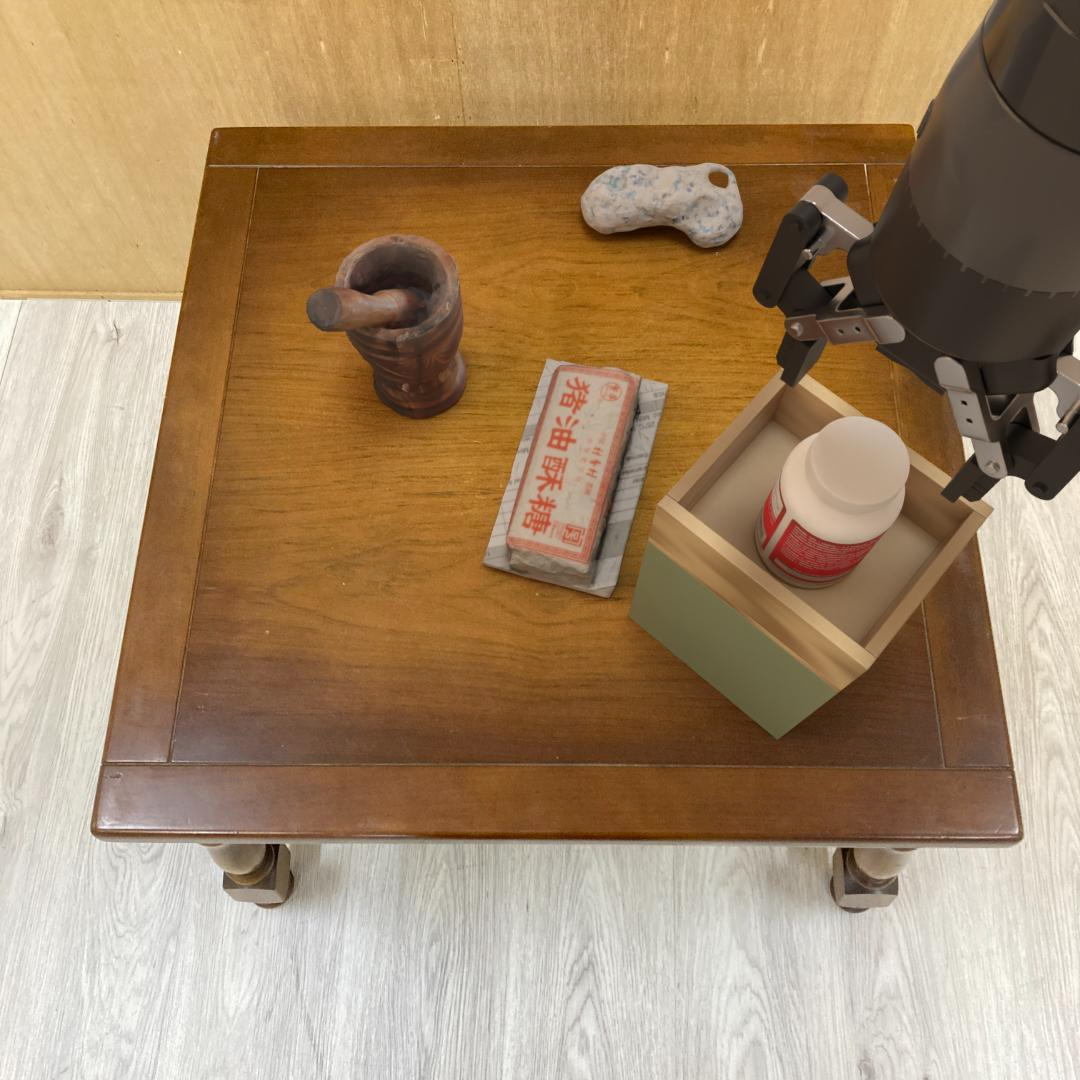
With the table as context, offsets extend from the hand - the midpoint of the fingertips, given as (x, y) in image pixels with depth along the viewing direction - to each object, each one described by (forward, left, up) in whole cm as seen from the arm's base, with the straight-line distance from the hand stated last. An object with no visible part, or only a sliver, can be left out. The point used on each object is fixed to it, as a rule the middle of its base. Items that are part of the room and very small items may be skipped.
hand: (875, 426), depth 45 cm
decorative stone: (+27, -22, -31) cm, 47 cm away
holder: (0, 0, -15) cm, 15 cm away
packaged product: (+17, 0, -31) cm, 35 cm away
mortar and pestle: (+31, +3, -31) cm, 44 cm away
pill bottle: (0, 0, -14) cm, 15 cm away
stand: (0, 0, -31) cm, 31 cm away
